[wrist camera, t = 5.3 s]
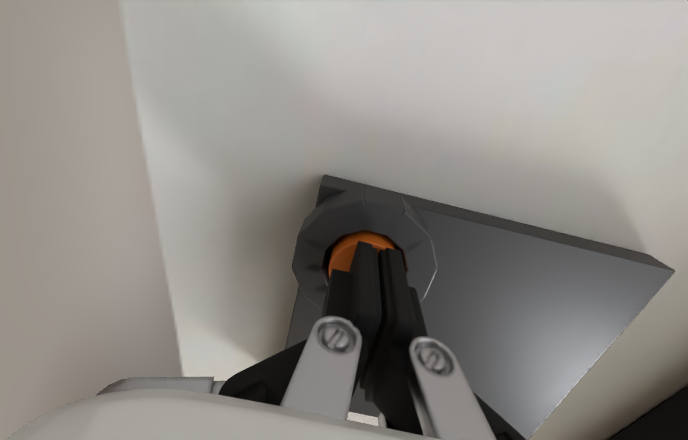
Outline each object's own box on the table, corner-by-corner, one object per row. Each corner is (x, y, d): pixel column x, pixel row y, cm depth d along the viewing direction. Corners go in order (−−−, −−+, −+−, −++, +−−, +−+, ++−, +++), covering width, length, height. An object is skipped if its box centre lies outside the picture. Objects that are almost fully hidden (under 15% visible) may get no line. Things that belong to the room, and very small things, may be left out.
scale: (275, 374, 19) (261, 422, 17) (318, 164, 13) (307, 186, 11) (511, 424, 20) (534, 477, 18) (653, 248, 14) (722, 288, 12)
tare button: (326, 271, 14) (321, 292, 12) (339, 217, 12) (337, 234, 11) (385, 284, 14) (387, 308, 12) (404, 233, 13) (409, 252, 11)
